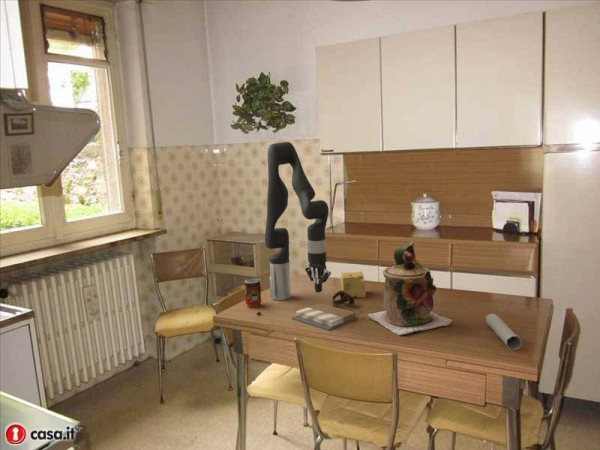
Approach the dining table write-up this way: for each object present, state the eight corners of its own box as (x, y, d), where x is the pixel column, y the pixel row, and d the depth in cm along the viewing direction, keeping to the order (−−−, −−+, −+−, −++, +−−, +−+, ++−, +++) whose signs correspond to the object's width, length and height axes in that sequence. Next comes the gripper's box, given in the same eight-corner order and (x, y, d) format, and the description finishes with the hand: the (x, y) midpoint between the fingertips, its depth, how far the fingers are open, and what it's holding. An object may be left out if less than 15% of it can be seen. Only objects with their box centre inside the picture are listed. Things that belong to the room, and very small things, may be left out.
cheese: (365, 297, 231) (365, 276, 229) (342, 298, 231) (341, 277, 229) (363, 291, 241) (362, 270, 239) (340, 292, 241) (340, 271, 240)
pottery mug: (358, 310, 215) (349, 296, 212) (338, 319, 217) (329, 305, 214) (356, 295, 226) (347, 282, 223) (337, 304, 228) (328, 291, 225)
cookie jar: (365, 317, 204) (363, 241, 199) (415, 307, 214) (414, 234, 209) (400, 337, 182) (399, 252, 177) (454, 325, 191) (454, 243, 186)
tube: (481, 314, 191) (503, 338, 167) (495, 309, 191) (519, 333, 166) (486, 326, 192) (508, 352, 167) (499, 321, 192) (524, 347, 167)
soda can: (249, 309, 222) (247, 282, 220) (243, 305, 228) (242, 279, 227) (263, 306, 225) (262, 280, 223) (258, 302, 231) (256, 276, 230)
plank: (296, 315, 208) (296, 311, 208) (308, 311, 213) (307, 307, 213) (331, 326, 194) (331, 321, 193) (343, 322, 198) (343, 317, 198)
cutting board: (291, 318, 207) (291, 312, 207) (320, 308, 219) (319, 302, 218) (328, 330, 192) (328, 324, 192) (357, 318, 204) (357, 312, 203)
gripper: (298, 249, 202) (300, 291, 205) (322, 254, 193) (323, 297, 196) (312, 246, 207) (313, 286, 210) (335, 250, 198) (336, 292, 201)
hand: (318, 291), depth 203 cm, fingers closed
